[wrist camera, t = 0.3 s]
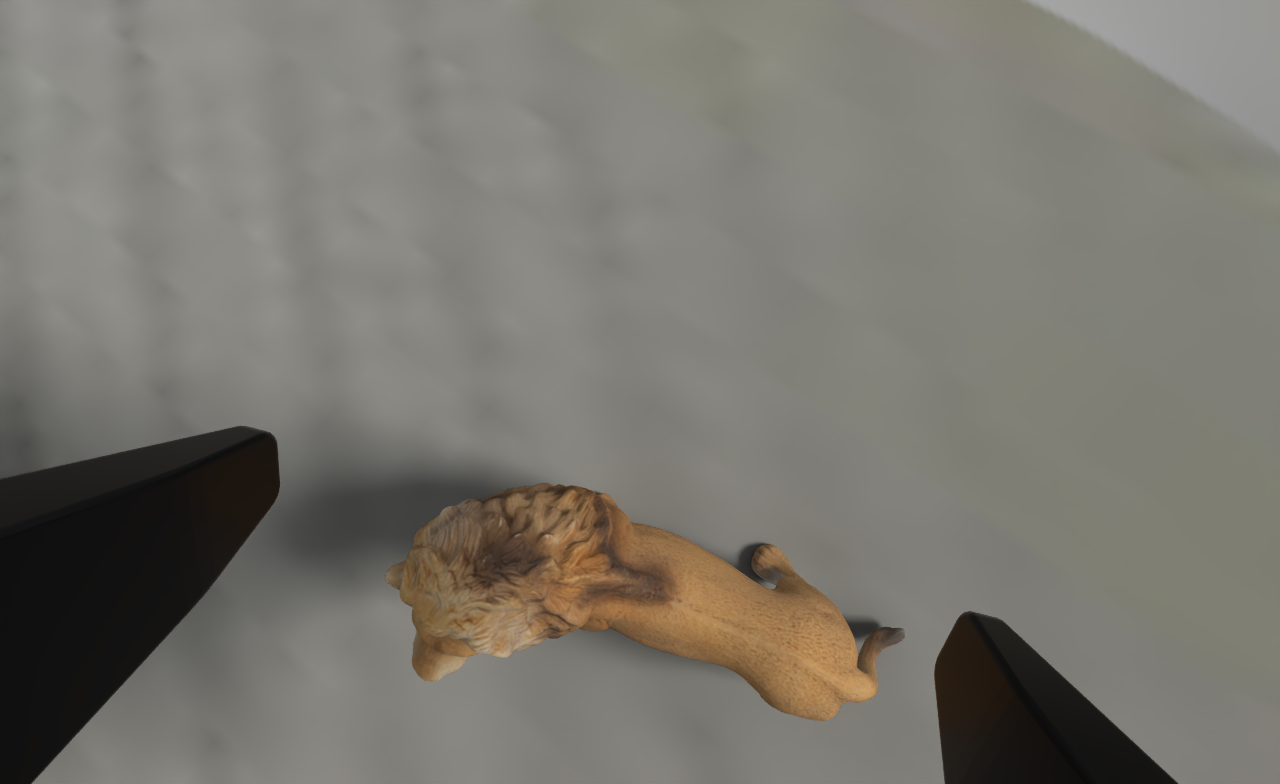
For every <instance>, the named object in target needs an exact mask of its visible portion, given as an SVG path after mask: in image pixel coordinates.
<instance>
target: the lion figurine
mask: <svg viewBox="0 0 1280 784" xmlns="http://www.w3.org/2000/svg"><path fill="white" fill-rule="evenodd" d="M751 567H752V569H753V571H754V572H755V573H756V574H757V575H758V576H759V577H761V578H762V579H764V580H766V581H768V582H770V583H772V584H774V585H776V588H775V589H773V590H770V589H768V588H765V587H763V586H761V585H759V584H758V583H756V582H754V581H753V580H751V579H750V578H748V577H747V576H746V575H744V574H743V573H741V572H740V571H738V570H737V569H736V568H734V567H733V566H731V565H730V564H729V563H727V562H726V561H724V560H723V559H721V558H720V557H718V556H716V555H714V554H712V553H710V552H708V551H706V550H704V549H703V548H701V547H699V546H698V545H696V544H694V543H692V542H690V541H689V540H687V539H685V538H682V537H680V536H678V535H676V534H673V533H671V532H668V531H665V530H662V529H659V528H656V527H652V526H647V525H643V524H636V523H632V522H631V521H630V520H629V518H628V516H627V515H626V514H625V513H624V512H623V511H622V510H621V509H619V508H618V506H617V505H616V503H615V502H614V500H613V499H612V498H611V497H610V496H608V495H607V494H604V493H600V494H596V493H594V492H593V491H591V490H588V489H585V488H582V487H577V486H572V485H571V486H567V487H566V486H563V485H559V484H558V485H557V486H552V485H550V484H548V483H542V484H537V485H535V486H532V487H526V486H524V487H520V488H517V489H515V488H511V489H507V490H506V491H505V492H504V491H499V492H496V493H494V494H492V495H490V496H489V497H487V498H485V499H481V500H478V499H475V498H469V499H466V500H464V501H462V502H460V503H459V504H458V505H456V506H448V507H446V508H444V509H443V510H442V512H441V513H440V515H439V516H438V517H436V518H434V519H432V520H431V521H430V522H429V523H427V524H426V525H424V526H423V527H422V528H421V529H419V530H418V531H417V533H416V535H415V537H414V546H413V548H412V549H411V551H410V552H409V554H408V556H407V559H406V561H404V562H401V563H399V564H396V565H394V566H392V567H391V568H390V569H389V570H388V571H387V572H386V574H385V580H386V582H387V583H389V584H391V585H392V586H393V587H395V588H397V589H398V590H400V597H401V600H402V601H403V602H404V603H405V604H407V605H410V606H412V608H413V610H412V621H413V624H414V626H415V627H416V630H417V633H416V636H415V639H414V643H413V656H412V666H413V668H414V670H415V671H416V673H417V674H418V675H419V676H420V677H421V678H422V679H423V680H425V681H431V682H432V681H437V680H439V679H441V678H442V677H443V676H444V675H446V674H450V673H452V672H454V671H456V670H458V669H459V668H460V667H461V666H462V665H463V664H464V663H465V661H466V660H467V658H468V657H469V656H473V655H476V654H478V653H483V654H485V653H488V654H490V655H492V656H494V657H501V658H507V657H508V656H510V655H511V654H512V652H513V650H516V651H519V650H524V649H526V648H528V647H529V646H535V645H537V644H539V643H541V642H542V641H544V640H545V639H546V638H553V639H555V638H559V637H561V636H563V635H565V634H567V633H569V632H572V631H575V630H577V629H583V630H589V631H603V630H606V629H608V628H612V629H614V630H616V631H618V632H620V633H622V634H624V635H626V636H627V637H629V638H631V639H633V640H635V641H637V642H639V643H642V644H644V645H646V646H649V647H652V648H655V649H658V650H661V651H665V652H668V653H671V654H674V655H679V656H683V657H687V658H692V659H696V660H701V661H706V662H710V663H715V664H718V665H721V666H724V667H726V668H729V669H730V670H732V671H734V672H736V673H738V674H739V675H740V676H742V677H743V678H744V679H745V680H746V681H747V682H748V683H749V684H750V685H751V686H752V687H753V688H754V689H755V690H756V691H757V692H758V693H759V694H760V696H761V697H762V698H763V699H764V700H765V701H766V702H767V703H768V704H769V705H770V706H772V707H774V708H775V709H777V710H779V711H781V712H784V713H787V714H791V715H795V716H798V717H802V718H806V719H810V720H819V721H825V720H828V719H831V718H832V717H834V716H835V715H836V713H837V712H838V710H839V708H840V705H841V704H844V703H845V702H863V701H866V700H869V699H871V698H872V697H873V696H874V695H875V694H876V693H877V691H878V682H877V677H876V668H875V660H876V658H877V656H878V655H879V653H880V652H881V651H882V649H884V648H886V647H888V646H891V645H894V644H897V643H898V642H900V641H902V640H903V639H904V637H905V631H904V629H902V628H890V627H882V628H880V629H878V630H876V631H874V632H873V633H872V634H871V635H870V636H869V637H868V638H866V639H865V641H864V644H863V646H862V649H861V651H860V653H859V656H858V655H857V648H856V644H855V640H854V636H853V634H852V632H851V630H850V628H849V626H848V624H847V622H846V620H845V619H844V617H843V615H842V614H841V612H840V611H839V609H838V608H837V607H836V606H835V604H834V603H833V602H832V601H831V600H830V599H829V598H827V597H826V596H825V595H824V594H822V593H821V592H820V591H818V590H817V589H816V588H815V587H813V586H811V585H810V584H808V583H807V582H806V581H805V580H804V579H803V578H801V577H800V576H799V575H798V574H797V573H796V572H795V571H794V569H793V568H792V566H791V564H790V563H789V561H788V559H787V558H786V557H785V555H784V554H783V553H782V552H781V551H780V550H779V549H778V548H777V547H775V546H773V545H771V544H766V545H762V546H759V547H758V548H757V549H756V550H755V553H754V555H753V558H752V561H751Z"/></svg>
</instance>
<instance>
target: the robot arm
mask: <svg viewBox="0 0 1280 784" xmlns="http://www.w3.org/2000/svg"><path fill="white" fill-rule="evenodd" d="M279 488H280V477H279V462H278V447H277V441H276V439H275V437H274V435H272V434H271V433H270V432H267V431H263V430H259V429H255V428H251V427H247V426H237V427H233V428H228V429H224V430H219V431H215V432H210V433H206V434H201V435H197V436H192V437H188V438H183V439H179V440H174V441H170V442H165V443H161V444H156V445H152V446H147V447H143V448H138V449H134V450H129V451H125V452H120V453H116V454H111V455H106V456H102V457H97V458H93V459H88V460H84V461H79V462H75V463H70V464H66V465H61V466H57V467H52V468H48V469H43V470H39V471H34V472H30V473H25V474H21V475H16V476H12V477H7V478H3V479H0V784H32V783H33V781H34V780H35V779H36V778H37V777H38V776H39V775H40V774H41V773H42V772H43V771H44V769H45V768H46V767H47V766H48V765H49V764H50V763H51V762H52V761H53V760H54V759H55V758H56V756H57V755H58V754H59V753H60V752H61V751H62V750H63V749H64V748H65V747H66V746H67V744H68V743H69V742H70V741H71V740H72V739H73V738H74V737H75V736H76V735H77V734H78V732H79V731H80V730H81V729H82V728H83V727H84V726H85V725H86V724H87V723H88V722H89V721H90V719H91V718H92V717H93V716H94V715H95V714H96V713H97V712H98V711H99V710H100V709H101V707H102V706H103V705H104V704H105V703H106V702H107V701H108V700H109V699H110V698H111V697H112V695H113V694H114V693H115V692H116V691H117V690H118V689H119V688H120V687H121V686H122V685H123V684H124V682H125V681H126V680H127V679H128V678H129V677H130V676H131V675H132V674H133V673H134V672H135V670H136V669H137V668H138V667H139V666H140V665H141V664H142V663H143V662H144V661H145V660H146V658H147V657H148V656H149V655H150V654H151V653H152V652H153V651H154V650H155V649H156V648H157V647H158V645H159V644H160V643H161V642H162V641H163V640H164V639H165V638H166V637H167V636H168V635H169V633H170V632H171V631H172V630H173V629H174V628H175V627H176V626H177V625H178V624H179V623H180V621H181V620H182V619H183V618H184V617H185V616H186V615H187V614H188V613H189V612H190V611H191V609H192V608H193V607H194V606H195V605H196V604H197V603H198V601H199V600H200V599H201V598H202V597H203V596H204V594H205V593H206V592H207V591H208V589H209V588H210V587H211V586H212V584H213V583H214V582H215V581H216V579H217V578H218V577H219V575H220V574H221V573H222V571H223V570H224V569H225V567H226V566H227V565H228V563H229V562H230V561H231V559H232V558H233V557H234V555H235V554H236V553H237V551H238V550H239V549H240V547H241V546H242V545H243V544H244V542H245V541H246V540H247V538H248V537H249V536H250V534H251V533H252V532H253V530H254V529H255V528H256V526H257V525H258V524H259V522H260V521H261V520H262V518H263V517H264V516H265V514H266V513H267V512H268V510H269V509H270V508H271V506H272V505H273V503H274V502H275V500H276V498H277V496H278V493H279ZM934 678H935V689H936V699H937V709H938V719H939V730H940V740H941V750H942V760H943V770H944V780H945V784H1178V783H1177V782H1176V781H1175V780H1174V779H1173V778H1172V777H1171V776H1170V775H1168V774H1167V773H1166V772H1165V771H1164V770H1163V769H1162V768H1161V767H1160V766H1159V765H1158V764H1157V763H1156V762H1154V761H1153V760H1152V759H1151V758H1150V757H1149V756H1148V755H1147V754H1146V753H1145V752H1144V751H1143V750H1142V749H1140V748H1139V747H1138V746H1137V745H1136V744H1135V743H1134V742H1133V741H1132V740H1131V739H1130V738H1129V737H1128V736H1126V735H1125V734H1124V733H1123V732H1122V731H1121V730H1120V729H1119V728H1118V727H1117V726H1116V725H1115V724H1114V723H1112V722H1111V721H1110V720H1109V719H1108V718H1107V717H1106V716H1105V715H1104V714H1103V713H1102V712H1101V711H1100V710H1098V709H1097V708H1096V707H1095V706H1094V705H1093V704H1092V703H1091V702H1090V701H1089V700H1088V699H1087V698H1086V697H1084V696H1083V695H1082V694H1081V693H1080V692H1079V691H1078V690H1077V689H1076V688H1075V687H1074V686H1073V685H1071V684H1070V683H1069V682H1068V681H1067V680H1066V679H1065V678H1064V677H1063V676H1062V675H1061V674H1060V673H1059V672H1057V671H1056V670H1055V669H1054V668H1053V667H1052V666H1051V665H1050V664H1049V663H1048V662H1047V661H1046V660H1045V659H1043V658H1042V657H1041V656H1040V655H1039V654H1038V653H1037V652H1036V651H1035V650H1034V649H1033V648H1032V647H1031V646H1029V645H1028V644H1027V643H1026V642H1025V641H1024V640H1023V639H1022V638H1021V637H1020V636H1019V635H1018V634H1017V633H1015V632H1014V631H1013V630H1012V629H1011V628H1010V627H1009V626H1008V625H1007V624H1006V623H1005V622H1003V621H1002V620H1000V619H998V618H995V617H992V616H988V615H984V614H980V613H976V612H972V611H968V612H964V613H963V614H962V615H960V617H959V618H958V619H957V621H956V623H955V625H954V627H953V629H952V631H951V632H950V634H949V636H948V638H947V640H946V642H945V644H944V646H943V648H942V650H941V651H940V653H939V655H938V658H937V660H936V664H935V672H934Z"/></svg>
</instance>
